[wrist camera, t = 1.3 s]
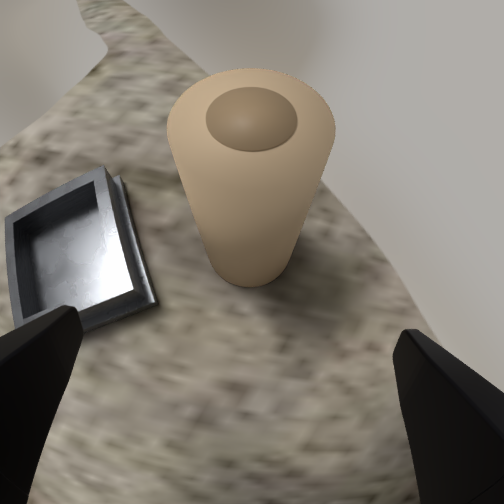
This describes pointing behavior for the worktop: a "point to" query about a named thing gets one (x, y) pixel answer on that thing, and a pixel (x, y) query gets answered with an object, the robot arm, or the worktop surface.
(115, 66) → the worktop surface
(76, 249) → the dock
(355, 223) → the worktop surface
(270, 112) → the beige tapered cylinder
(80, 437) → the worktop surface
